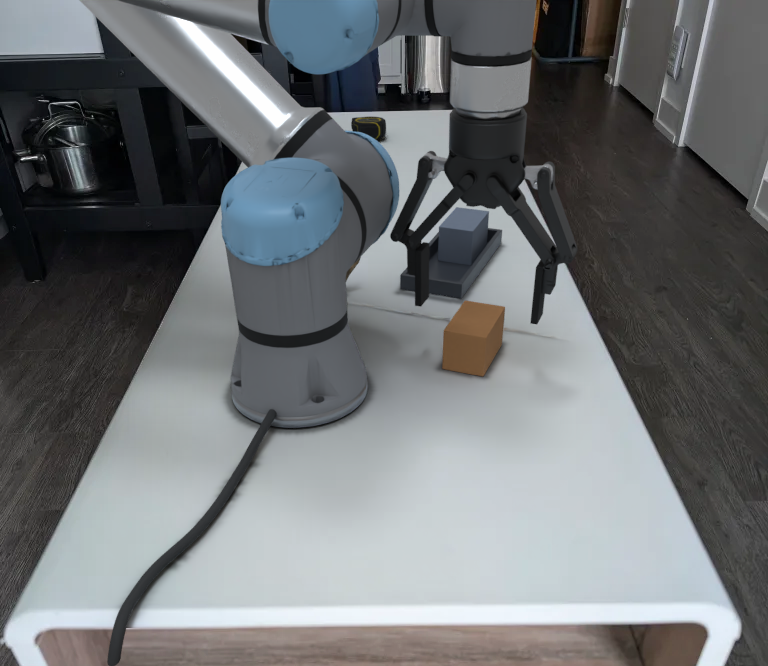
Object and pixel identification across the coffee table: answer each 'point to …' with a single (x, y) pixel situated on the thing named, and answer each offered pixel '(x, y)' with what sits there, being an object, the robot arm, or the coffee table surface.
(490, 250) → the carrier tray
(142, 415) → the coffee table surface
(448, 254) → the grey block
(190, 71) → the robot arm
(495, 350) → the brown block
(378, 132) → the tape measure
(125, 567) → the coffee table surface
